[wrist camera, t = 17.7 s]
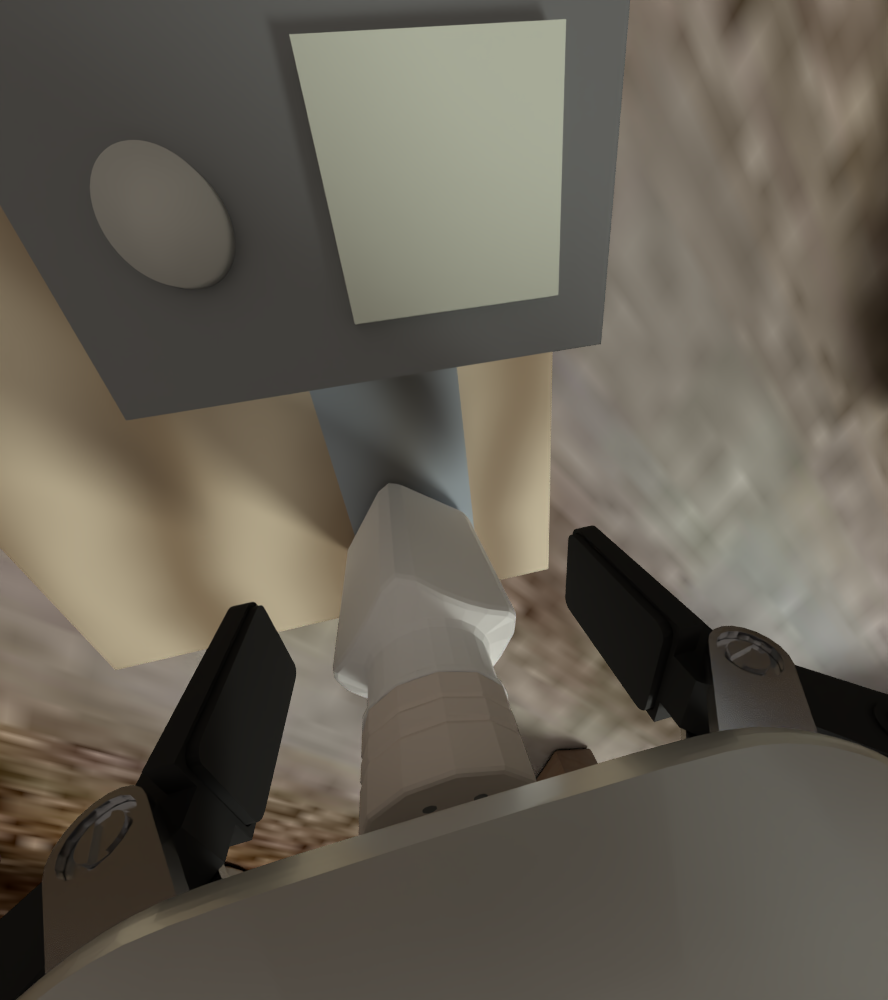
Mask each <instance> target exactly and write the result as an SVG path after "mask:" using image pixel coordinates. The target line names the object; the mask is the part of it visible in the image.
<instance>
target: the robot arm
mask: <svg viewBox="0 0 888 1000" xmlns="http://www.w3.org/2000/svg"><path fill="white" fill-rule="evenodd" d="M565 599H566V603H567V606H568V608H569V610H570V611H571V613H572V614H573V616H574V617H575V618H576V620H577V621H578V623H579V624H580V626H581V627H582V628H583V630H584V631H585V633H586V634H587V636H588V637H589V638H590V640H591V641H592V643H593V644H594V646H595V647H596V648H597V650H598V651H599V653H600V654H601V656H602V657H603V658H604V660H605V661H606V663H607V664H608V666H609V667H610V668H611V670H612V671H613V673H614V674H615V676H616V677H617V678H618V680H619V681H620V683H621V684H622V686H623V687H624V688H625V690H626V691H627V693H628V694H629V696H630V697H631V699H632V700H633V701H634V703H635V704H636V705H637V707H638V708H639V709H641V710H646V711H647V713H648V714H649V715H650V717H651V718H652V719H653V721H654V722H656V721H659V720H662V719H666V718H669V717H672V718H673V720H674V721H675V722H676V724H677V725H678V726H679V727H680V728H681V740H680V741H677V742H673V743H669V744H666V745H662V746H658V747H655V748H651V749H647V750H644V751H640V752H636V753H633V754H629V755H626V756H622V757H619V758H616V759H612V760H609V761H606V762H602V763H599V764H595V765H592V766H589V767H585V768H582V769H578V770H575V771H572V772H568V773H565V774H561V775H558V776H555V777H551V778H548V779H545V780H541V781H538V782H534V783H531V784H528V785H524V786H521V787H518V788H514V789H511V790H508V791H504V792H501V793H498V794H494V795H491V796H488V797H485V798H481V799H478V800H475V801H471V802H468V803H465V804H461V805H458V806H455V807H451V808H448V809H445V810H441V811H438V812H435V813H432V814H428V815H425V816H422V817H418V818H415V819H412V820H408V821H405V822H402V823H398V824H395V825H392V826H389V827H385V828H382V829H379V830H376V831H372V832H369V833H366V834H363V835H359V836H356V837H353V838H350V839H346V840H343V841H340V842H337V843H333V844H330V845H327V846H324V847H320V848H317V849H314V850H311V851H307V852H304V853H301V854H298V855H294V856H291V857H288V858H285V859H282V860H279V861H276V862H273V863H269V864H266V865H263V866H260V867H257V868H254V869H251V870H248V871H245V872H243V871H242V870H239V869H235V868H232V867H228V866H225V865H224V863H225V860H226V856H227V853H228V849H229V847H230V846H233V845H236V844H240V843H243V842H247V841H250V840H252V837H253V833H254V829H255V825H256V822H258V821H260V820H261V819H262V817H263V815H264V812H265V808H266V804H267V799H268V795H269V791H270V786H271V782H272V778H273V774H274V769H275V765H276V761H277V756H278V752H279V748H280V743H281V739H282V735H283V730H284V726H285V722H286V717H287V713H288V709H289V704H290V700H291V696H292V691H293V687H294V683H295V678H296V668H295V664H294V662H293V660H292V658H291V657H290V655H289V653H288V651H287V649H286V647H285V645H284V643H283V642H282V640H281V638H280V636H279V634H278V632H277V630H276V628H275V627H274V625H273V623H272V621H271V619H270V617H269V615H268V614H267V612H266V610H265V608H264V607H263V606H262V605H259V606H258V605H257V604H256V603H255V602H249V603H245V604H240V605H236V606H232V607H230V608H229V609H228V611H227V613H226V615H225V617H224V618H223V620H222V622H221V624H220V626H219V628H218V630H217V632H216V633H215V635H214V637H213V639H212V641H211V643H210V645H209V647H208V648H207V650H206V652H205V654H204V656H203V658H202V660H201V662H200V664H199V665H198V667H197V669H196V671H195V673H194V675H193V677H192V679H191V680H190V682H189V684H188V686H187V688H186V690H185V692H184V694H183V695H182V697H181V699H180V701H179V703H178V705H177V707H176V709H175V711H174V712H173V714H172V716H171V718H170V720H169V722H168V724H167V726H166V727H165V729H164V731H163V733H162V735H161V737H160V739H159V741H158V742H157V744H156V746H155V748H154V750H153V752H152V754H151V756H150V758H149V759H148V761H147V763H146V765H145V767H144V769H143V771H142V774H141V776H140V778H139V780H138V782H137V784H136V785H135V786H134V785H131V786H125V787H121V788H119V789H117V790H114V791H112V792H110V793H108V794H107V795H105V796H104V797H102V798H101V799H99V800H98V801H96V802H95V803H93V804H92V805H91V806H90V807H89V808H88V809H87V810H85V811H84V812H83V813H82V814H81V815H80V816H79V817H78V818H77V819H76V820H75V821H74V822H73V823H72V824H71V826H70V827H69V828H68V829H67V830H66V831H65V832H64V834H63V835H62V836H61V838H60V839H59V841H58V842H57V844H56V845H55V847H54V848H53V850H52V852H51V854H50V856H49V858H48V860H47V862H46V865H45V867H44V872H43V878H42V882H41V883H40V884H39V885H38V886H37V887H36V888H35V889H34V890H32V891H31V892H30V893H29V894H28V895H27V896H26V897H25V898H24V899H22V900H21V901H20V902H19V903H18V904H17V905H16V906H15V907H13V908H12V909H11V910H10V911H9V912H8V913H7V914H6V915H5V916H3V917H2V918H1V919H0V1000H888V694H884V693H881V692H878V691H875V690H872V689H869V688H865V687H862V686H859V685H856V684H853V683H850V682H847V681H843V680H840V679H837V678H834V677H831V676H828V675H825V674H821V673H818V672H815V671H812V670H809V669H806V668H803V667H799V666H796V665H794V663H793V661H792V660H791V658H790V656H789V655H788V654H787V653H786V652H785V651H784V650H783V649H782V647H781V646H779V645H778V644H776V643H775V642H774V641H772V640H771V639H769V638H767V637H765V636H763V635H761V634H759V633H757V632H755V631H752V630H749V629H746V628H742V627H736V626H721V627H719V628H716V629H714V630H712V629H711V628H709V627H708V626H707V625H706V624H705V623H704V622H703V621H702V620H701V619H700V618H698V617H697V616H696V615H695V614H694V613H693V612H692V611H691V610H689V609H688V608H687V607H686V606H685V605H684V604H683V603H681V602H680V601H679V600H678V599H677V598H676V597H675V596H674V595H672V594H671V593H670V592H669V591H668V590H667V589H666V588H664V587H663V586H662V585H661V584H660V583H659V582H658V581H657V580H655V579H654V578H653V577H652V576H651V575H650V574H649V573H647V572H646V571H645V570H644V569H643V568H642V567H641V566H640V565H638V564H637V563H636V562H635V561H634V560H633V559H632V558H630V557H629V556H628V555H627V554H626V553H625V552H624V551H623V550H621V549H620V548H619V547H618V546H617V545H616V544H615V543H613V542H612V541H611V540H610V539H609V538H608V537H607V536H606V535H604V534H603V533H602V532H601V531H600V530H599V529H598V528H596V527H595V526H588V527H583V528H579V529H575V530H574V531H573V535H570V536H569V539H568V557H567V576H566V595H565Z"/></svg>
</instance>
